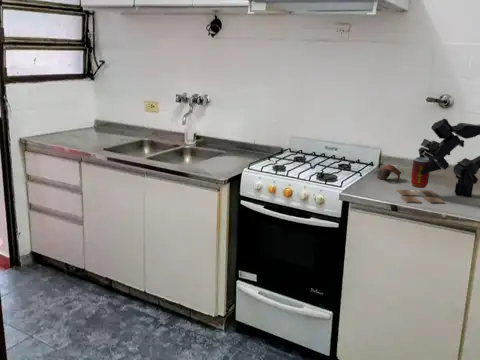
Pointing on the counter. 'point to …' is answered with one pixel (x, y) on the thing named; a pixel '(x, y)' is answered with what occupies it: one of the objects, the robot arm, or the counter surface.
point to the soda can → (419, 172)
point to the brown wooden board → (417, 193)
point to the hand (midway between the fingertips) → (417, 171)
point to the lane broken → (414, 200)
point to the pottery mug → (388, 172)
